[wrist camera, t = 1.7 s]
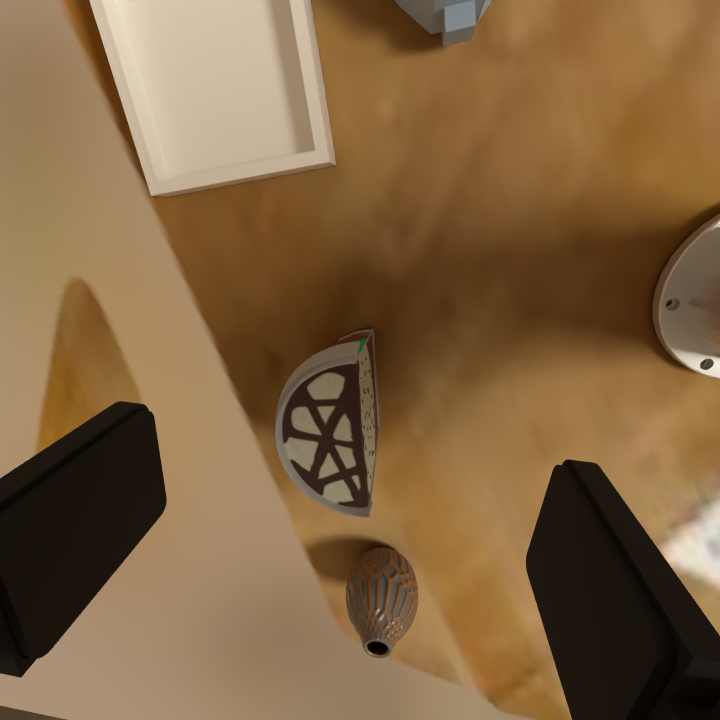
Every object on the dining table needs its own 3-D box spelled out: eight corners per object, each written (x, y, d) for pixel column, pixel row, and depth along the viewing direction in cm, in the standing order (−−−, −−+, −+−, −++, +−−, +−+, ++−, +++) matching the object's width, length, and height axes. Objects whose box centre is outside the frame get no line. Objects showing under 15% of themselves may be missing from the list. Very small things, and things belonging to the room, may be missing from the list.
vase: (340, 544, 41) (323, 628, 32) (402, 529, 39) (399, 614, 31) (367, 590, 43) (357, 680, 34) (427, 577, 41) (431, 669, 33)
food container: (297, 312, 32) (250, 356, 23) (372, 309, 31) (355, 353, 22) (315, 441, 36) (281, 521, 27) (380, 441, 35) (369, 524, 26)
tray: (298, -77, 23) (285, -109, 21) (336, 165, 27) (329, 161, 25) (107, -19, 25) (76, -42, 23) (171, 196, 30) (151, 195, 27)
